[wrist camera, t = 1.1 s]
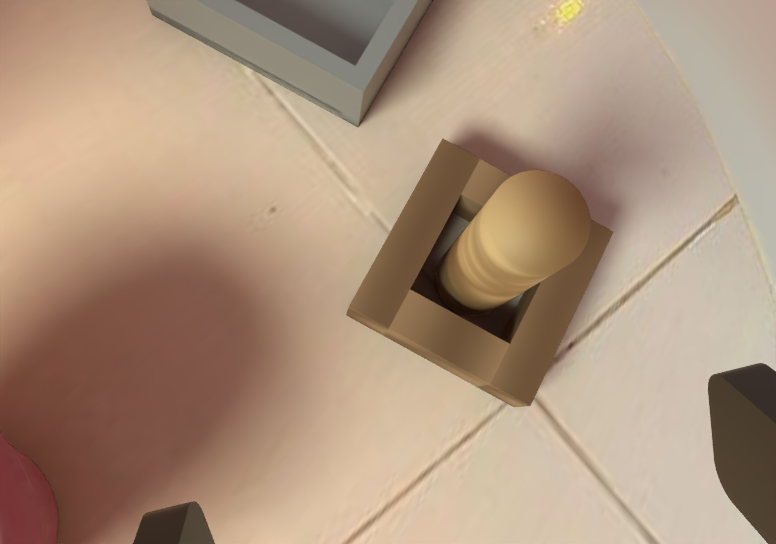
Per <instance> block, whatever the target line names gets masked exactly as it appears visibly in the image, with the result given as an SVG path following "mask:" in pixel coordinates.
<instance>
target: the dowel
mask: <svg viewBox="0 0 776 544" xmlns="http://www.w3.org/2000/svg"><path fill="white" fill-rule="evenodd" d="M590 228H591V220H590V213H589V210H588V207H587V204H586V202H585V200H584V198H583V196H582V195H581V193H580V192H579V191H578V190H577V189H576V187H575V186H574V185H573V184H571V183H570V182H569V181H568V180H566V179H564V178H563V177H561V176H559V175H557V174H554V173H551V172H548V171H543V170H529V171H524V172H521V173H518V174H515V175H513V176H511V177H510V178H508V179H507V180H506V181H504V182H503V183H502V184H501V185H500V186H499V188H498V189H497V190H496V191H495V193H494V194H493V195H492V196H491V198H490V199H489V200H488V201H487V203H486V204H485V205H484V206H483V207H482V209H481V210H480V211H479V212H478V214H477V215H476V216H475V217H474V219H473V220H472V221H471V222H470V224H469V225H468V226H467V227H466V229H465V230H464V231H463V232H462V234H461V235H460V236H459V237H458V239H457V240H456V241H455V242H454V244H453V245H452V246H451V247H450V249H449V250H448V251H447V252H446V254H445V255H444V256H443V257H442V259H441V260H440V262H439V264H438V267H437V270H436V286H437V290H438V292H439V295H440V296H441V298H442V300H443V301H444V302H445V303H446V304H447V306H449V307H450V308H451V309H452V310H454V311H456V312H458V313H460V314H463V315H467V316H480V315H484V314H487V313H489V312H491V311H493V310H495V309H496V308H498V307H500V306H501V305H503V304H504V303H506V302H508V301H509V300H511V299H513V298H514V297H516V296H518V295H519V294H521V293H523V292H524V291H526V290H528V289H529V288H531V287H533V286H534V285H536V284H538V283H539V282H541V281H542V280H544V279H546V278H547V277H549V276H551V275H552V274H554V273H556V272H557V271H559V270H561V269H562V268H564V267H566V266H567V265H569V264H570V263H572V262H573V261H574V260H575V259H576V258H577V257H578V256H579V255H580V254H581V253H582V251H583V250H584V248H585V246H586V244H587V242H588V239H589V235H590Z"/></svg>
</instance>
